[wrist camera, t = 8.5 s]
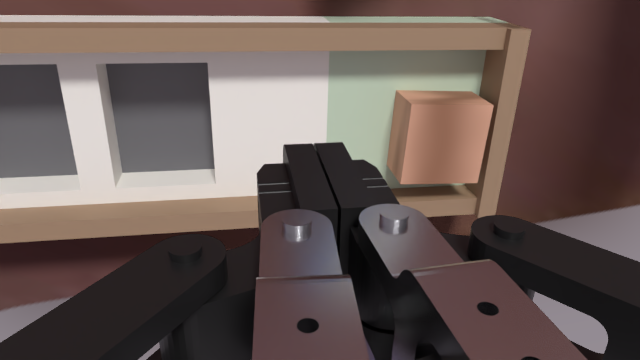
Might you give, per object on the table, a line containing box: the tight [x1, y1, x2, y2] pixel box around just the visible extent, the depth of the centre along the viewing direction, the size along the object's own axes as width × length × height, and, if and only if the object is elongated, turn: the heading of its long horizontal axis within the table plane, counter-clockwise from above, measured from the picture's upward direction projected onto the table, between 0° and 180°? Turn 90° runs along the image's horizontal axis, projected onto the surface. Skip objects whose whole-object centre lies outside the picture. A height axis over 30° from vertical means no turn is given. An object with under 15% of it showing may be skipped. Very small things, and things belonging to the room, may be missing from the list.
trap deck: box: [0, 15, 531, 243], centre depth 31 cm, size 34×12×5 cm, turn 88°
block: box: [387, 90, 494, 184], centre depth 32 cm, size 5×5×3 cm
